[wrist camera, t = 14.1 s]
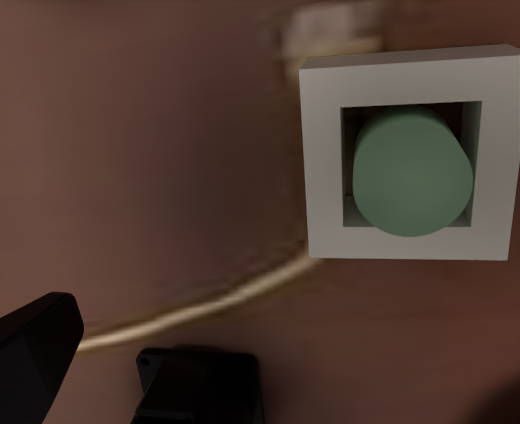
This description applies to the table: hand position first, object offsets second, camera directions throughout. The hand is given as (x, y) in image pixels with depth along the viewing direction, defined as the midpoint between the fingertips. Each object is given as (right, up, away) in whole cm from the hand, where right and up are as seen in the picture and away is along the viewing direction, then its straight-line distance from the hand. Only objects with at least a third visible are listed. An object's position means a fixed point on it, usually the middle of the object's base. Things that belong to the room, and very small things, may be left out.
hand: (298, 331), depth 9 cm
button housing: (+5, +5, +11) cm, 13 cm away
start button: (+5, +4, +10) cm, 12 cm away
